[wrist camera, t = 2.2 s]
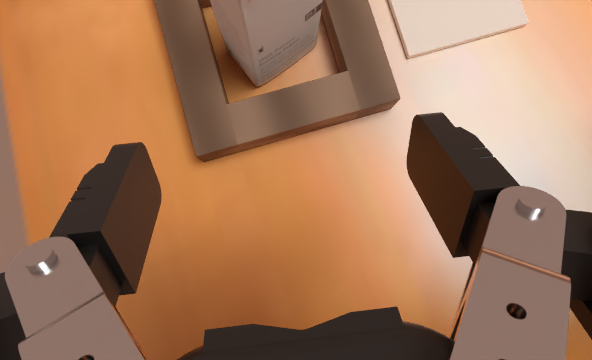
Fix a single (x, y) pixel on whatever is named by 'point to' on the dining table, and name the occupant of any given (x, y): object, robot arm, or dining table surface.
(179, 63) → the frame
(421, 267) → the dining table surface
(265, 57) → the skincare box
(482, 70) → the dining table surface
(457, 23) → the ceramic tile
